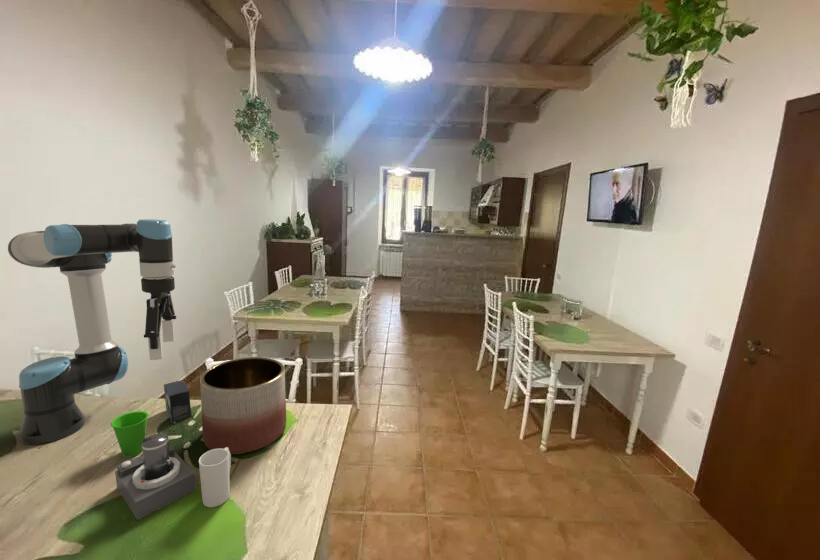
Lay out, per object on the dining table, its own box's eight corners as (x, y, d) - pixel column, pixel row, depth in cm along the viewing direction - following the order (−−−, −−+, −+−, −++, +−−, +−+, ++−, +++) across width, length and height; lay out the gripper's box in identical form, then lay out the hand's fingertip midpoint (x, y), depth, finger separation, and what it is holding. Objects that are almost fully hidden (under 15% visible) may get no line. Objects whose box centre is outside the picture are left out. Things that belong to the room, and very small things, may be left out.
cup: (132, 464, 105) (128, 429, 103) (106, 458, 107) (102, 424, 105) (159, 445, 114) (156, 413, 112) (135, 440, 115) (131, 408, 113)
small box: (164, 410, 133) (162, 383, 131) (185, 404, 137) (183, 379, 135) (170, 423, 125) (168, 395, 123) (192, 416, 129) (190, 389, 128)
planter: (286, 408, 137) (285, 353, 134) (286, 450, 114) (285, 385, 110) (211, 417, 129) (208, 359, 125) (194, 464, 106) (189, 395, 102)
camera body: (117, 488, 96) (114, 463, 94) (172, 463, 106) (170, 440, 105) (137, 520, 86) (134, 494, 85) (196, 489, 96) (194, 465, 95)
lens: (141, 483, 91) (138, 447, 89) (148, 469, 96) (145, 435, 94) (167, 479, 93) (165, 443, 91) (173, 465, 98) (171, 431, 96)
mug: (220, 510, 90) (218, 467, 88) (195, 507, 91) (192, 464, 89) (242, 481, 100) (241, 442, 98) (219, 478, 101) (217, 439, 99)
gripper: (161, 286, 89) (167, 366, 93) (183, 268, 112) (187, 334, 116) (124, 286, 86) (132, 369, 90) (154, 268, 109) (159, 335, 113)
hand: (163, 349), depth 103 cm, fingers open, 13 cm apart
